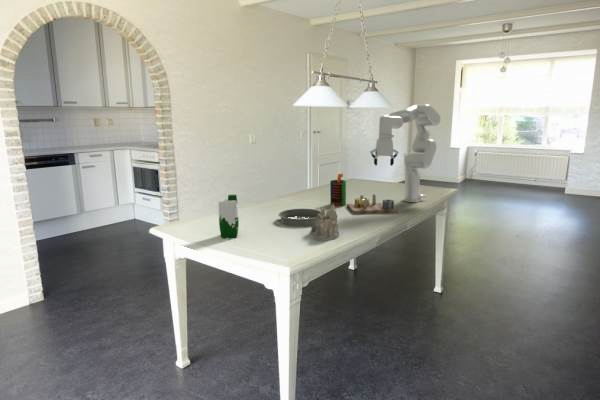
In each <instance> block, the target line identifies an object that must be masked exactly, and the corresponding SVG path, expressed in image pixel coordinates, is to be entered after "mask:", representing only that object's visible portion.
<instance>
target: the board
mask: <svg viewBox="0 0 600 400" xmlns="http://www.w3.org/2000/svg"><path fill="white" fill-rule="evenodd" d="M359 198H360V199H361V200H363V199H364V207H357V206H355V203H346V208H347V209H348V210H349V211H350V212H351V213H352V214H353V215H371V214H372V215H374V214H398V208H396V207H394V209H384V208H382V206H383V202H377V194H372V199H371V200H372V202H371V203H370V202H369V206H367V199H368V197H365V196H364V194H360V197H359Z"/></svg>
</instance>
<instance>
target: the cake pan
mask: <svg viewBox="0 0 600 400" xmlns="http://www.w3.org/2000/svg"><path fill="white" fill-rule="evenodd" d="M320 213H321V210H318V209H312V208H291V209H286V210H285V209H284V210H282V211H280V212H279V213H278V217H280V219H281V222H283V223H282V224H284V223H285V224H284V225H288V226H296V227H303V226H304V227H306V226H312V224H311V222H312V221H313V220H314V219H315V218H316V216H317V215H318V214H320ZM295 216H297V219H291V218H288V217H295ZM302 217H305V218H308V217H309V218H308V219H304V218H302ZM299 218H300V219H299Z"/></svg>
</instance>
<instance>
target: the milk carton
mask: <svg viewBox="0 0 600 400" xmlns="http://www.w3.org/2000/svg"><path fill="white" fill-rule="evenodd" d="M238 206H239V205H238V196H237V194H228V195H227V197H226V198H220V199H219V201H218V222H219V223H218V224H219V227H218V228H219V231H220V236H221V237H220V238H221V239H237V237H238V233H239V207H238Z"/></svg>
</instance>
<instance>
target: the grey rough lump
mask: <svg viewBox="0 0 600 400" xmlns="http://www.w3.org/2000/svg"><path fill="white" fill-rule="evenodd" d="M320 211H321V213H320V214H318V215H317V216H316V218H315V219H314V220H313V221H312V222H311V224H312V225H310V227H311V229H310V231H309V235H310V236H311V239H312V240H314V241H319V242H328V241H331V240H332V241H333V240H336V239H338V238H339V237H340V232H339V225H338V224H339V223H338V213H337V210H335V206H334V205H332V204H331V207H330V208H328V209H327V210H326V208H325V207H321V210H320Z"/></svg>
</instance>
